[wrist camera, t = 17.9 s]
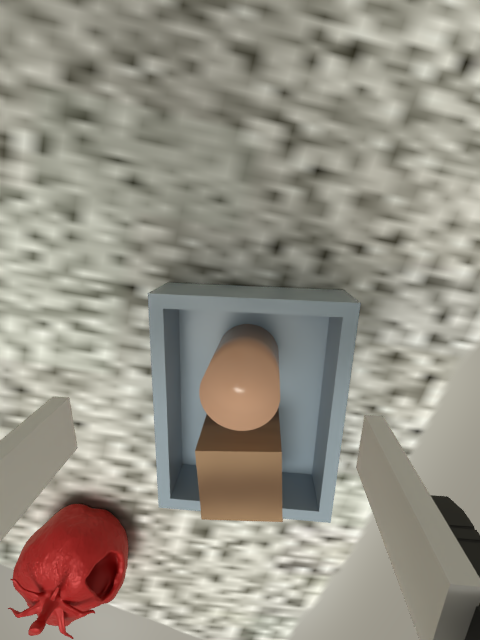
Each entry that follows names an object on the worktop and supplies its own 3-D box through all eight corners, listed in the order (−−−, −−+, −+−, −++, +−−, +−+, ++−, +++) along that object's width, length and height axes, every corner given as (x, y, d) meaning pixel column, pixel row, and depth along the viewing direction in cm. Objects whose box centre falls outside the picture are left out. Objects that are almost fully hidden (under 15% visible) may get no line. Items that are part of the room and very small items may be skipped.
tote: (167, 282, 26) (147, 293, 21) (343, 289, 25) (360, 303, 21) (174, 467, 31) (158, 507, 26) (320, 479, 30) (330, 522, 25)
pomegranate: (39, 539, 35) (-41, 644, 26) (67, 476, 32) (-12, 570, 23) (119, 579, 36) (67, 695, 27) (154, 520, 33) (109, 629, 24)
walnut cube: (209, 405, 28) (194, 451, 22) (278, 405, 27) (281, 452, 22) (214, 462, 30) (201, 519, 24) (279, 463, 29) (282, 521, 23)
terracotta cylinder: (221, 320, 26) (202, 352, 19) (283, 328, 25) (286, 364, 19) (215, 375, 27) (196, 423, 20) (273, 384, 27) (273, 436, 20)
